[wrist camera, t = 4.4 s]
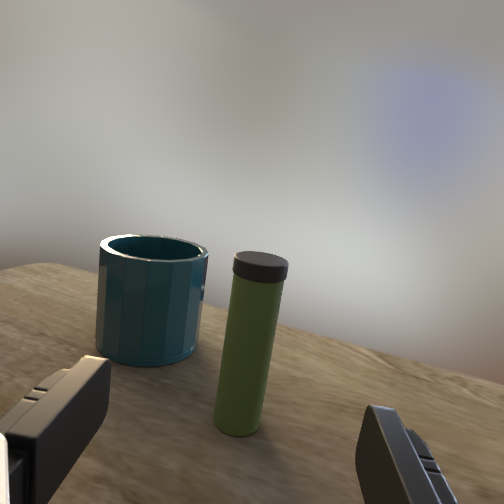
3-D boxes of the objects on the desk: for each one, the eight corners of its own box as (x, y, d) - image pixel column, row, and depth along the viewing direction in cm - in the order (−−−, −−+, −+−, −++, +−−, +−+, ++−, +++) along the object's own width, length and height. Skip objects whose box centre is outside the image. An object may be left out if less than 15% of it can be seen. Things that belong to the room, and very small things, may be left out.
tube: (252, 402, 26) (276, 252, 24) (267, 435, 23) (297, 267, 21) (207, 406, 25) (228, 249, 23) (218, 440, 22) (243, 264, 20)
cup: (189, 319, 38) (198, 238, 36) (205, 364, 30) (218, 264, 28) (98, 319, 35) (103, 231, 33) (91, 369, 27) (96, 258, 25)
